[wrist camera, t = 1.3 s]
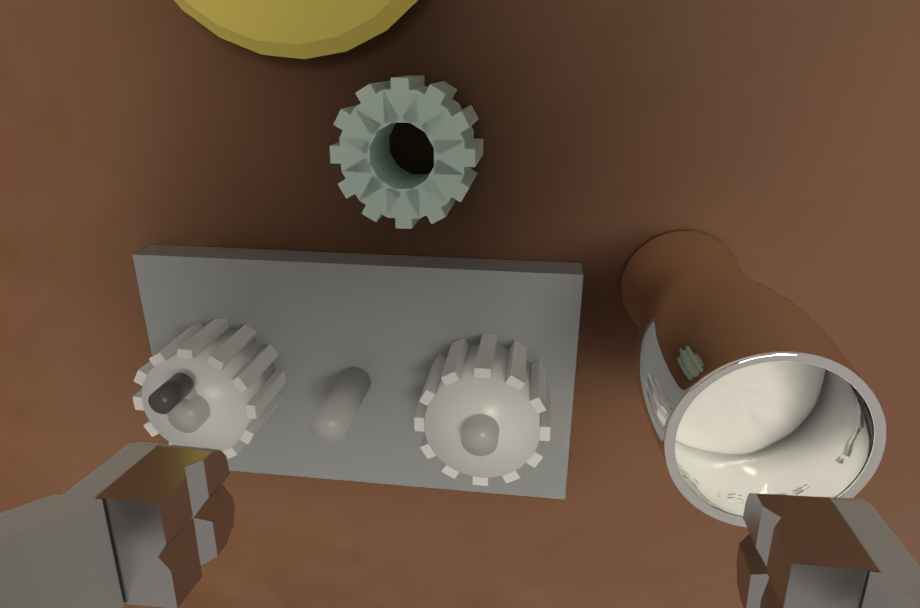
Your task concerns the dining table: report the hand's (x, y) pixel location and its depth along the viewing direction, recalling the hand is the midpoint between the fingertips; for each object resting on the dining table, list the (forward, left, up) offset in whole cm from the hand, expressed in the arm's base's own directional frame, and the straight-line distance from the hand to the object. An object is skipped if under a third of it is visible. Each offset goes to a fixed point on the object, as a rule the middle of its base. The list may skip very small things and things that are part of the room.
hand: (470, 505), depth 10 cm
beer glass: (+5, +8, -25) cm, 27 cm away
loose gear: (-2, -6, -25) cm, 25 cm away
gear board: (+11, -9, -25) cm, 29 cm away
